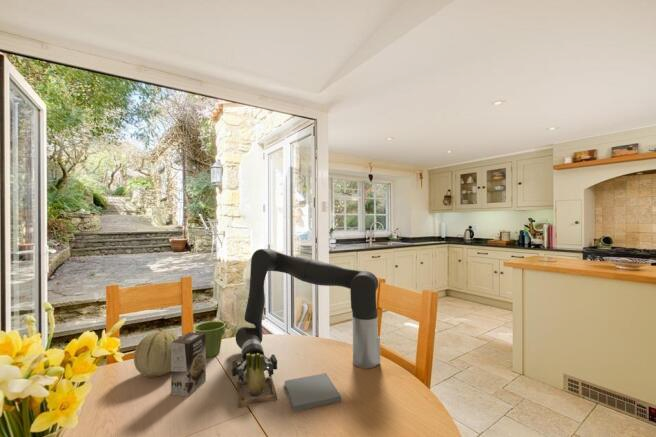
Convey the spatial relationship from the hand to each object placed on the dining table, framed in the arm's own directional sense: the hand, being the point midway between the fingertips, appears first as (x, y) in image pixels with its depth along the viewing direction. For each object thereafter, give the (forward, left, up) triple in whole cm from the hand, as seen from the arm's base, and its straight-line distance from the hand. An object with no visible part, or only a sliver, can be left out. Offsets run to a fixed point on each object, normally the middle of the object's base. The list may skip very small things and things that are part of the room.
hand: (256, 376), depth 90 cm
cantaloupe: (+31, -25, -6) cm, 40 cm away
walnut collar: (0, -2, -6) cm, 6 cm away
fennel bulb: (0, -2, -6) cm, 7 cm away
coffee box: (+20, -12, -6) cm, 24 cm away
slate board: (-16, +4, -6) cm, 18 cm away
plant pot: (+15, -36, -6) cm, 39 cm away
